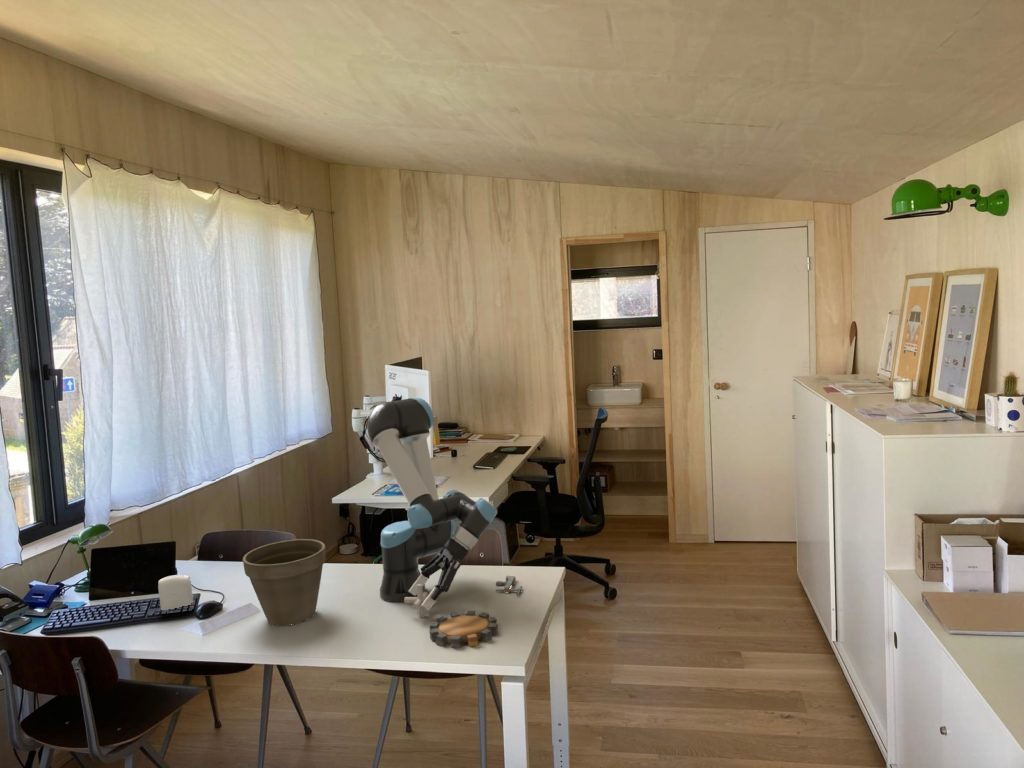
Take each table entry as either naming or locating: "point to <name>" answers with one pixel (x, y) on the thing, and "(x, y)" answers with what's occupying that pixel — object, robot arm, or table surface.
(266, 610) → the plant pot
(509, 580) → the clamp
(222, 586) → the table surface
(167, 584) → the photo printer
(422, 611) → the pipe connector
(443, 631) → the sprocket wheel
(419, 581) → the robot arm
